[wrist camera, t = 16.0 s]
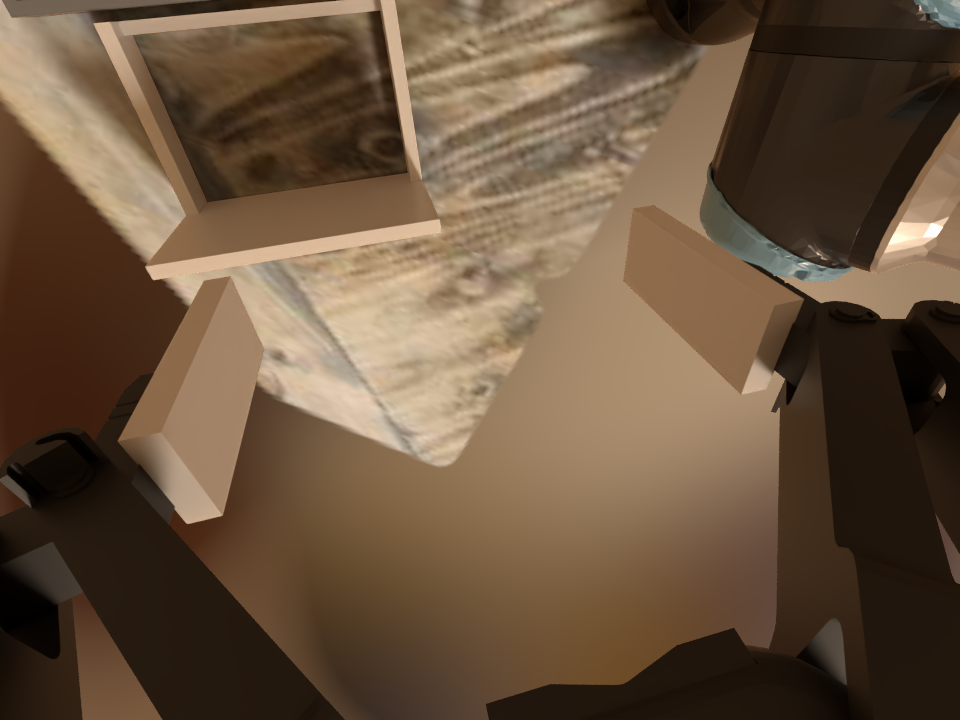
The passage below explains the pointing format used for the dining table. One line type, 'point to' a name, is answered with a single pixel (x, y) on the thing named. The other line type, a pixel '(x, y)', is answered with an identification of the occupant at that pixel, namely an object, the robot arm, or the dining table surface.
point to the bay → (279, 215)
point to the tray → (78, 6)
